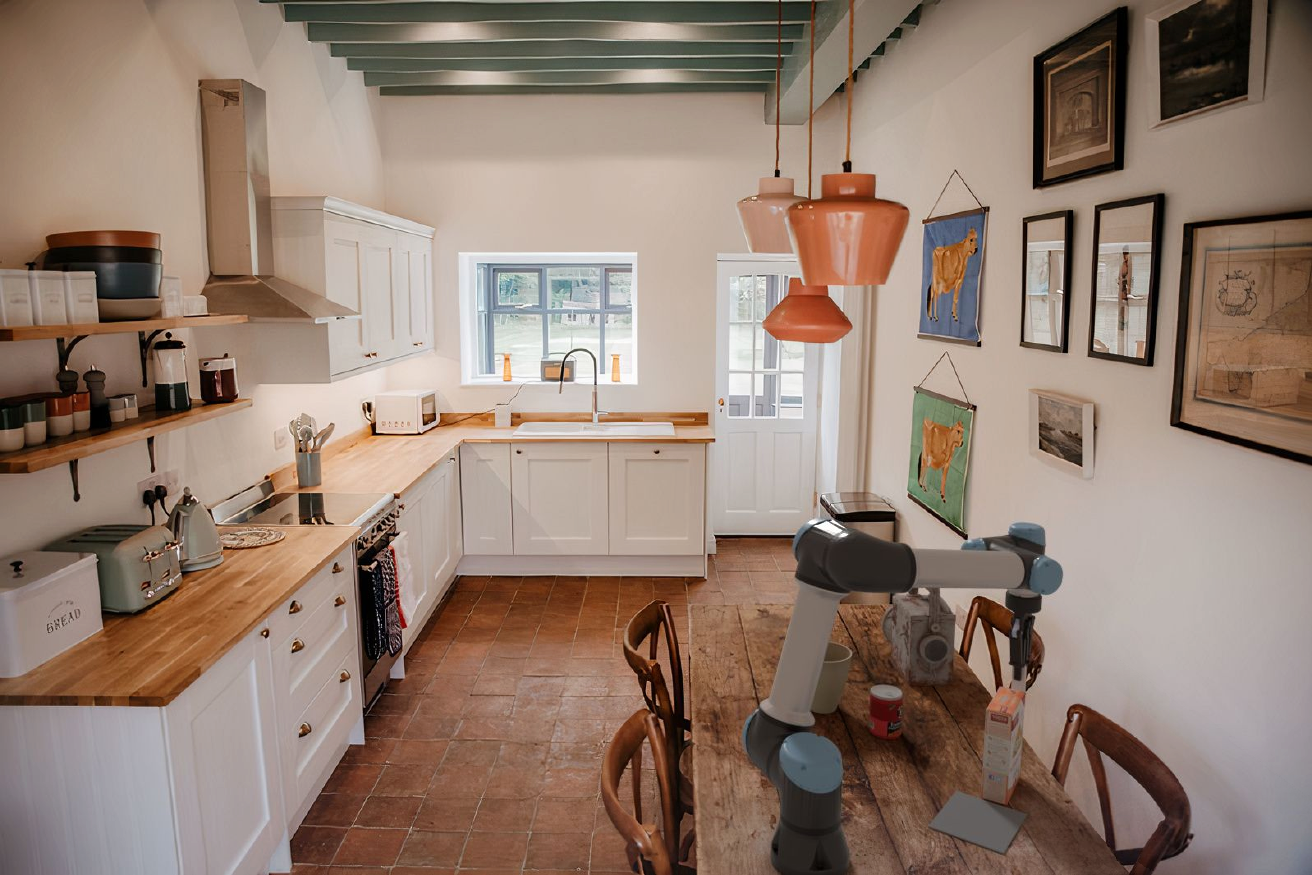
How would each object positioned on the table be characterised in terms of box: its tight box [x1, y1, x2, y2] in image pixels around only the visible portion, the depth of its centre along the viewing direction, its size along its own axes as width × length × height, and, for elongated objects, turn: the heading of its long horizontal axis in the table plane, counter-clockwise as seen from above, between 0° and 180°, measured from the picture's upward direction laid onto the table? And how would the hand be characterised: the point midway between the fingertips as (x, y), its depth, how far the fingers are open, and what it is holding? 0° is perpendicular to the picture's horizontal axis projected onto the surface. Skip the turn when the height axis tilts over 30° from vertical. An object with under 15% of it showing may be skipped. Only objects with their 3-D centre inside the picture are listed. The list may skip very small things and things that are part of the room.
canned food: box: [869, 684, 904, 740], centre depth 219 cm, size 8×8×11 cm
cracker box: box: [980, 686, 1027, 807], centre depth 193 cm, size 14×6×21 cm, turn 147°
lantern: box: [880, 588, 957, 687], centre depth 255 cm, size 16×27×30 cm, turn 2°
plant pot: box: [810, 641, 853, 715], centre depth 233 cm, size 15×15×16 cm
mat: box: [928, 790, 1028, 855], centre depth 182 cm, size 16×15×1 cm
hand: (1018, 691), depth 199 cm, fingers closed
